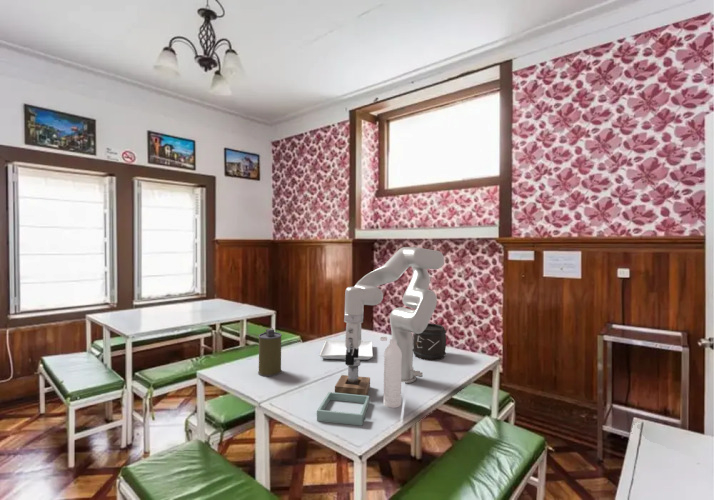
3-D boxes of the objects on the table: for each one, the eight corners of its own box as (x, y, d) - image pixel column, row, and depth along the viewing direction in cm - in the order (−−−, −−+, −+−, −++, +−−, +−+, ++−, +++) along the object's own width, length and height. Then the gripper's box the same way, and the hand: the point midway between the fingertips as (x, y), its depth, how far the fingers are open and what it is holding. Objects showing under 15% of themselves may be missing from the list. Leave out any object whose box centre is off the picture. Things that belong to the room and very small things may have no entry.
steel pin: (361, 389, 150) (361, 359, 149) (358, 395, 144) (359, 364, 144) (347, 388, 151) (347, 358, 150) (344, 393, 145) (345, 363, 145)
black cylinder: (404, 353, 201) (405, 325, 200) (428, 348, 211) (429, 321, 210) (428, 363, 186) (428, 332, 185) (452, 357, 196) (453, 328, 195)
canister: (284, 373, 168) (285, 330, 167) (262, 378, 163) (262, 333, 162) (276, 366, 177) (277, 325, 177) (255, 370, 172) (255, 327, 171)
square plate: (325, 345, 214) (325, 339, 214) (372, 347, 213) (372, 340, 213) (318, 361, 187) (318, 353, 187) (372, 363, 186) (373, 355, 186)
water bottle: (404, 405, 138) (405, 339, 137) (394, 411, 133) (396, 343, 132) (384, 399, 143) (385, 335, 143) (374, 405, 138) (376, 338, 137)
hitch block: (369, 389, 152) (370, 377, 152) (365, 402, 141) (365, 389, 140) (341, 386, 154) (341, 375, 154) (334, 399, 143) (334, 386, 143)
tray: (369, 405, 138) (369, 395, 138) (362, 425, 123) (362, 415, 123) (328, 401, 141) (328, 392, 141) (316, 420, 126) (316, 410, 125)
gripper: (359, 323, 137) (357, 369, 137) (366, 314, 154) (364, 355, 154) (339, 321, 139) (337, 367, 139) (348, 313, 156) (347, 354, 156)
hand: (352, 361), depth 147 cm, fingers open, 9 cm apart
